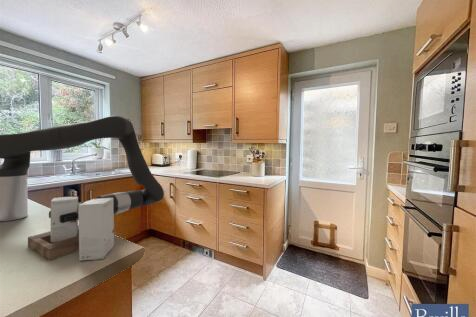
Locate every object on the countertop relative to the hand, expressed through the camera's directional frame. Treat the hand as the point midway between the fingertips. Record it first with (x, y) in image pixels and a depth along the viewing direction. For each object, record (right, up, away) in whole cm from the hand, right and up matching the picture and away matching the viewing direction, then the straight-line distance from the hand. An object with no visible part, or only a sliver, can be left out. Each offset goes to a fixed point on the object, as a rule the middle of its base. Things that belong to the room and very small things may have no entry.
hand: (54, 217), depth 59 cm
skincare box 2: (+13, -10, -2) cm, 17 cm away
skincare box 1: (+1, -7, +2) cm, 8 cm away
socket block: (+1, -9, +2) cm, 9 cm away
